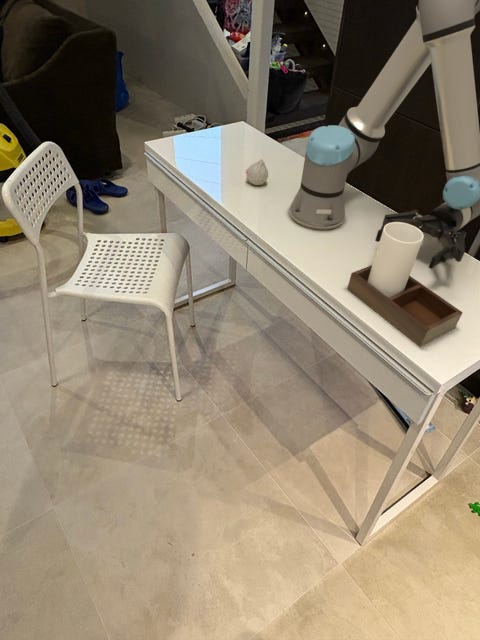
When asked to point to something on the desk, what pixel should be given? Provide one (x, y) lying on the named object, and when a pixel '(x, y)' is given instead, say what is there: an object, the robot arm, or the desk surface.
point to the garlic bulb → (257, 173)
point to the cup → (395, 257)
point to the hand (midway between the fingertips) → (404, 249)
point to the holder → (408, 308)
